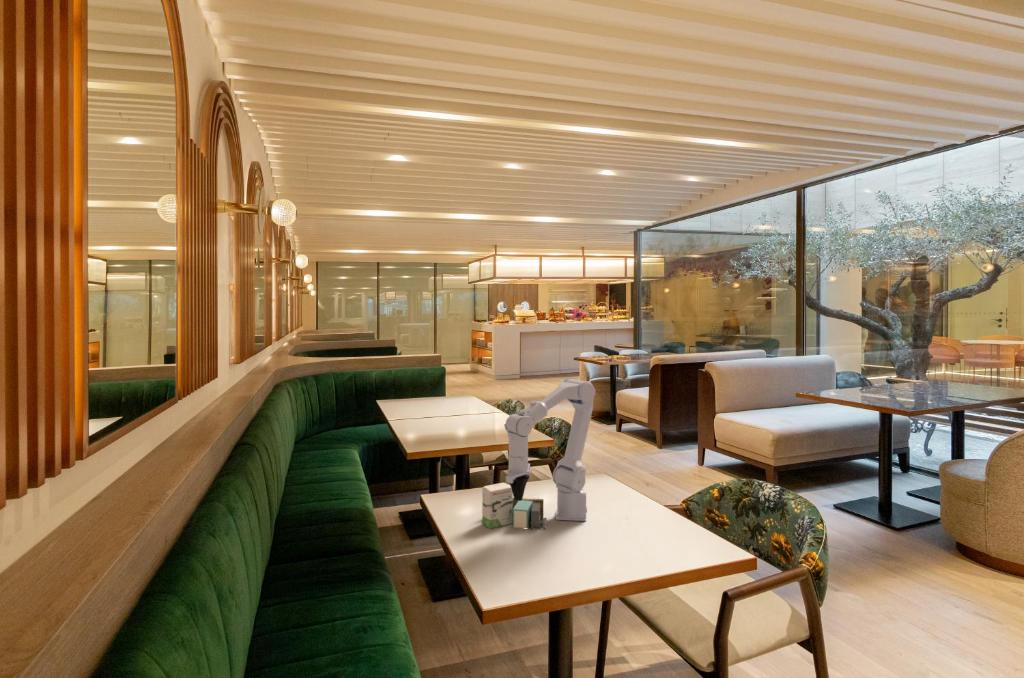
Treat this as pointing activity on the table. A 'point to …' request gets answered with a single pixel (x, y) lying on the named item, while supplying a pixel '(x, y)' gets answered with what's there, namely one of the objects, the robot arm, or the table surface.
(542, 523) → the bookend
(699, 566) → the table surface
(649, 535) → the table surface
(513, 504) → the back board
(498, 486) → the ink box
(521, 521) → the book
